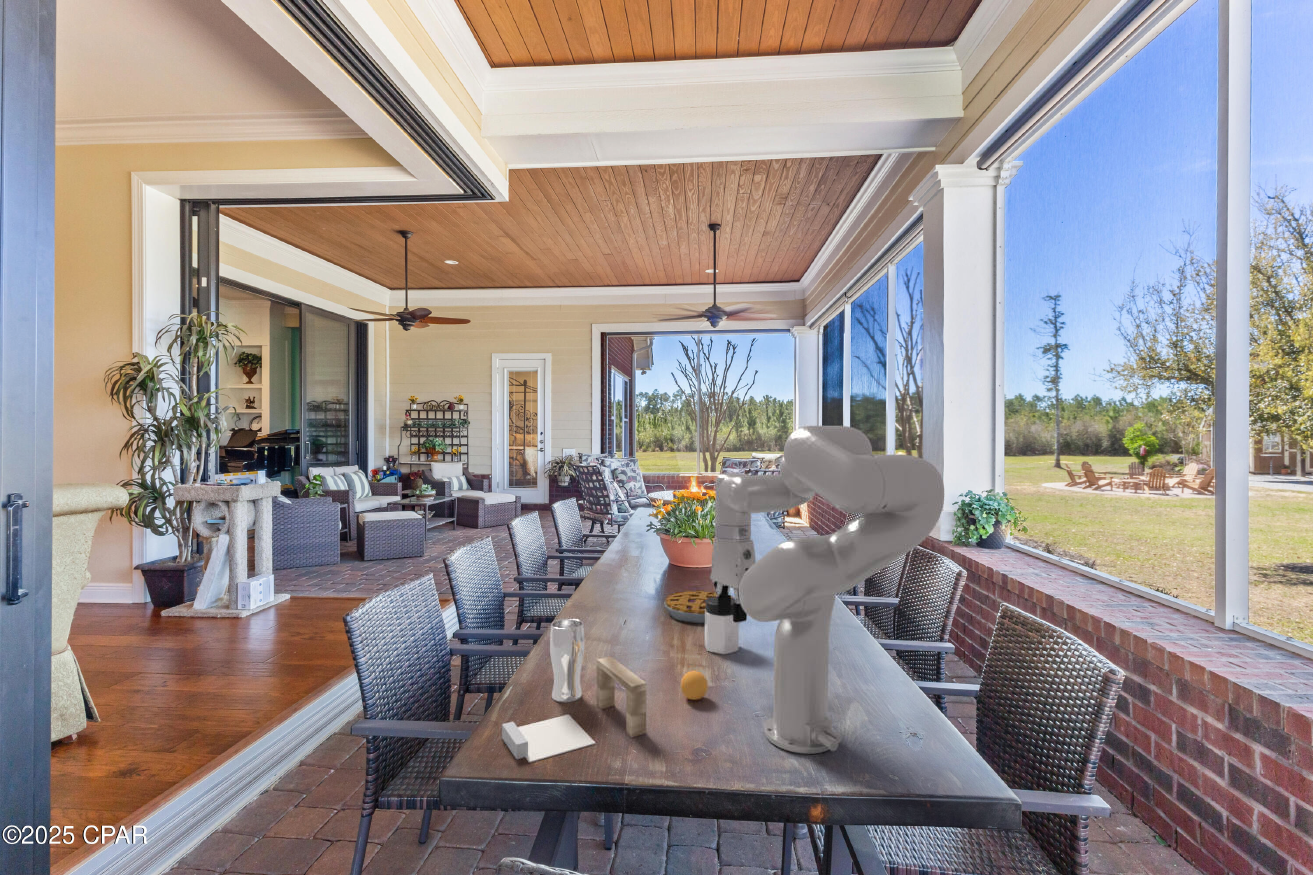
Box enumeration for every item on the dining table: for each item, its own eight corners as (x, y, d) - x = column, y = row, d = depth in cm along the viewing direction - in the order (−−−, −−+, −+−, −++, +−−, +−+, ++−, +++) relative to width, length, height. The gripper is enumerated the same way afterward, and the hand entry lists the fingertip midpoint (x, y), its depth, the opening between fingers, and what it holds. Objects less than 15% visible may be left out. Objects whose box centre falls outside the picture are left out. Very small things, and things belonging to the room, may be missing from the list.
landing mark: (595, 743, 107) (595, 742, 107) (529, 762, 101) (529, 761, 101) (568, 715, 118) (568, 714, 118) (506, 730, 111) (506, 729, 111)
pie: (668, 601, 195) (668, 585, 194) (738, 604, 191) (738, 589, 191) (659, 623, 173) (659, 606, 173) (737, 627, 170) (737, 610, 170)
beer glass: (568, 706, 121) (569, 631, 121) (542, 698, 125) (542, 624, 124) (590, 693, 127) (591, 621, 127) (564, 685, 131) (565, 616, 130)
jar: (717, 656, 148) (718, 607, 148) (697, 646, 155) (697, 599, 154) (745, 649, 153) (746, 601, 152) (724, 639, 160) (725, 594, 159)
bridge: (610, 701, 123) (610, 656, 123) (646, 733, 111) (646, 682, 111) (596, 704, 122) (596, 659, 122) (631, 737, 110) (631, 686, 109)
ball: (712, 700, 124) (713, 673, 124) (690, 707, 121) (690, 679, 121) (697, 690, 129) (697, 664, 129) (675, 696, 126) (675, 669, 126)
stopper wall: (528, 756, 103) (528, 741, 103) (516, 759, 102) (516, 744, 102) (513, 735, 110) (513, 721, 110) (502, 737, 109) (502, 724, 109)
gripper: (773, 536, 124) (772, 626, 124) (722, 524, 139) (721, 604, 139) (744, 540, 120) (743, 632, 121) (695, 527, 135) (694, 609, 135)
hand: (731, 616), depth 130 cm, fingers open, 4 cm apart
